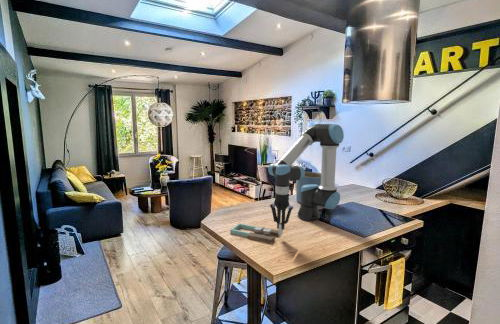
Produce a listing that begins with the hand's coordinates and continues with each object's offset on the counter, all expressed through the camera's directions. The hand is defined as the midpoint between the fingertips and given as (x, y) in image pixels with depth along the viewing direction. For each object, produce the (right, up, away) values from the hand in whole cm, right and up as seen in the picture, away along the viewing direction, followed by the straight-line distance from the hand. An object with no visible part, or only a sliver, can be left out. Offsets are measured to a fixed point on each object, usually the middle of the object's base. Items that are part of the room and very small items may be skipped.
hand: (280, 234), depth 149 cm
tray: (-21, -2, +11) cm, 23 cm away
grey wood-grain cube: (-7, -2, +4) cm, 8 cm away
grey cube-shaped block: (-12, -2, +6) cm, 14 cm away
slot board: (-9, -3, +5) cm, 11 cm away
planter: (+32, +7, +75) cm, 81 cm away
